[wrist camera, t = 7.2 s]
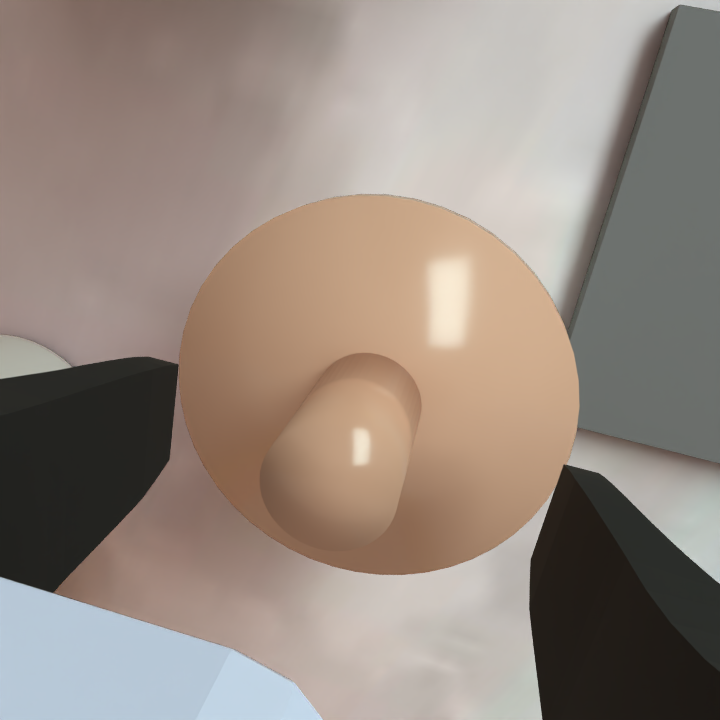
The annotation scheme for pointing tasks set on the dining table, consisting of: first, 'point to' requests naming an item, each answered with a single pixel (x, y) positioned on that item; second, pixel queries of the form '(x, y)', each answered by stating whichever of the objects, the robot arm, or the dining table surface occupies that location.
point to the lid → (379, 384)
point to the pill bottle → (26, 358)
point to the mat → (660, 262)
